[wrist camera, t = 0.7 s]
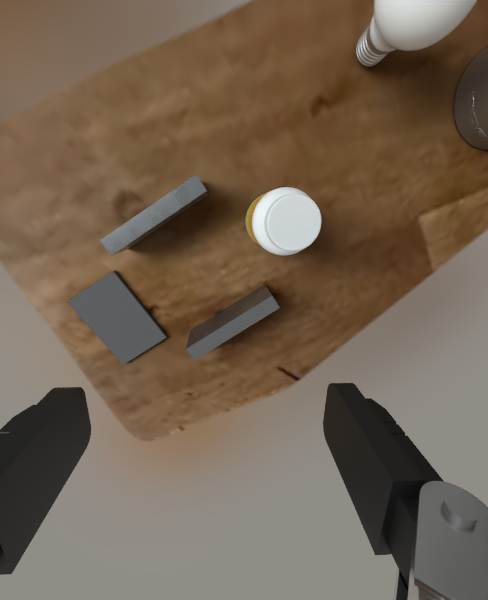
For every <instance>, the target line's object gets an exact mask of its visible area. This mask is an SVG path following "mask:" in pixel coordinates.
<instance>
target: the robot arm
mask: <svg viewBox="0 0 488 600" xmlns="http://www.w3.org/2000/svg"><path fill="white" fill-rule="evenodd" d="M454 115H455V120H456V125H457V127H458V129H459V132H460V134H461V135H462V136H463V138H464V139H465V140H466V141H467V142H468V143H469V144H471V145H472V146H474V147H477V148H479V149H486V150H488V47H487V48H485V49H484V50H482V51H481V52H480V53H479V54H478V55H477V56H476V57H475V58H474V59H473V60H472V61H471V63H470V64H469V65H468V67H467V68H466V70H465V72H464V73H463V75H462V77H461V79H460V82H459V85H458V88H457V91H456V96H455V102H454ZM323 428H324V435H325V439H326V441H327V444H328V446H329V449H330V451H331V453H332V456H333V458H334V460H335V462H336V465H337V467H338V469H339V472H340V474H341V476H342V479H343V481H344V483H345V486H346V488H347V490H348V492H349V495H350V497H351V500H352V502H353V504H354V506H355V509H356V511H357V514H358V516H359V518H360V521H361V523H362V525H363V528H364V530H365V532H366V534H367V537H368V539H369V541H370V544H371V546H372V548H373V551H374V553H375V555H387V554H392V556H393V558H394V560H395V562H396V564H397V566H398V570H397V575H396V582H395V591H394V600H488V507H487V506H486V505H485V504H484V503H483V502H481V501H480V500H479V499H478V498H477V497H475V496H474V495H472V494H471V493H469V492H468V491H466V490H464V489H462V488H460V487H458V486H456V485H453V484H451V483H447V482H444V481H443V480H442V479H441V477H440V476H439V475H438V474H437V472H436V471H435V470H434V469H433V468H432V466H431V465H430V464H429V462H428V461H427V460H426V459H425V457H424V456H423V455H422V454H421V453H420V451H419V450H418V449H417V448H416V446H415V445H414V444H413V442H412V441H411V440H410V439H409V437H408V436H405V432H404V431H403V430H402V429H401V427H400V426H399V425H397V424H396V421H395V420H394V419H393V418H392V416H391V415H390V414H389V413H388V411H387V410H386V409H385V408H383V407H382V406H381V405H379V404H378V403H377V402H375V401H374V400H372V399H365V398H364V396H363V395H362V394H361V393H360V391H359V390H358V388H357V387H356V386H355V384H353V383H331V384H329V386H328V390H327V397H326V404H325V412H324V420H323ZM90 435H91V424H90V419H89V413H88V408H87V402H86V397H85V392H84V390H83V389H82V388H81V387H74V388H73V387H72V388H71V387H70V388H69V387H68V388H53V389H52V390H51V391H50V392H49V393H48V394H47V395H46V396H45V397H44V398H43V399H42V400H41V401H40V402H39V403H38V404H37V405H32V406H31V407H29V408H27V409H26V410H24V411H23V412H21V413H20V414H18V415H16V416H14V417H13V418H12V419H11V420H10V421H9V422H8V423H7V424H6V425H5V426H4V427H3V428H2V429H1V430H0V574H12V572H13V570H14V569H15V567H16V565H17V564H18V562H19V560H20V559H21V557H22V555H23V554H24V552H25V550H26V548H27V547H28V545H29V543H30V542H31V540H32V539H33V537H34V535H35V534H36V532H37V530H38V528H39V527H40V525H41V523H42V522H43V520H44V518H45V517H46V515H47V513H48V512H49V510H50V508H51V507H52V505H53V503H54V502H55V500H56V498H57V496H58V495H59V493H60V491H61V490H62V488H63V486H64V485H65V483H66V481H67V480H68V478H69V476H70V475H71V473H72V471H73V470H74V468H75V466H76V465H77V463H78V461H79V460H80V458H81V456H82V455H83V453H84V451H85V450H86V448H87V445H88V443H89V439H90Z"/></svg>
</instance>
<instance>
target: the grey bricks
mask: <svg viewBox="0 0 488 600" xmlns="http://www.w3.org/2000/svg"><path fill="white" fill-rule="evenodd" d="M208 195H209V194H208V192H207V190H206V189H205V187H204V185H203V184H202V182H201V181H200V179H199V177H198V176H197V174H196V175H195V176H193V177H192V178H190V179H189V180H188V181H186V182H185V183H183V184H182V185H180V186H179V187H177V188H176V189H174V190H173V191H172V192H170V193H169V194H167V195H166V196H164V197H163V198H161V199H160V200H158V201H157V202H155V203H154V204H153V205H151V206H150V207H148V208H147V209H145V210H144V211H142V212H141V213H139V214H138V215H137V216H135V217H134V218H132V219H131V220H129V221H128V222H126V223H125V224H123V225H122V226H120V227H119V228H118V229H116V230H115V231H113V232H112V233H110V234H109V235H107V236H106V237H104V238H103V239H102V240H100V241H101V242H102V244H103V245H104V246H105V248H106V249H107V250H108V251H109V253H110V254H111V255H114V254H117V253H119V252H122V251H125V250H127V249H129V248H131V247H132V246H133V245H135V244H136V243H138V242H139V241H141V240H142V239H144V238H145V237H147V236H148V235H150V234H151V233H153V232H154V231H156V230H157V229H159V228H160V227H162V226H163V225H165V224H166V223H168V222H169V221H171V220H172V219H173V218H175V217H176V216H178V215H179V214H181V213H182V212H184V211H185V210H187V209H188V208H190V207H191V206H193V205H194V204H196V203H197V202H199V201H200V200H202V199H203V198H205V197H206V196H208ZM279 308H280V307H279V306H278V304H277V302H276V301H275V299H274V298H273V296H272V295H271V293H270V291H269V290H268V288H267V287H266V285H263V286H261V287H260V288H258V289H257V290H255V291H253V292H252V293H250V294H249V295H247V296H246V297H244V298H242V299H241V300H239V301H238V302H236V303H234V304H233V305H231V306H230V307H228V308H226V309H225V310H223V311H222V312H220V313H218V314H217V315H215V316H214V317H212V318H210V319H209V320H207V321H206V322H204V323H203V324H201V325H199V326H198V327H196V328H195V329H193V330H191V331H190V335H189V339H188V343H187V347H186V350H187V351H188V352H189V354H190V355H191V356H192V357H193V359H194V360H196V359H198V358H199V357H201V356H203V355H204V354H206V353H207V352H209V351H211V350H212V349H214V348H216V347H217V346H219V345H220V344H222V343H224V342H225V341H227V340H228V339H230V338H232V337H233V336H235V335H237V334H238V333H240V332H241V331H243V330H245V329H246V328H248V327H250V326H251V325H253V324H254V323H256V322H258V321H259V320H261V319H263V318H264V317H266V316H267V315H269V314H271V313H272V312H274V311H276V310H277V309H279Z"/></svg>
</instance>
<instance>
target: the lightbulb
mask: <svg viewBox="0 0 488 600" xmlns="http://www.w3.org/2000/svg"><path fill="white" fill-rule="evenodd" d="M476 2H477V0H374V15H373V17H372V20H371V24H370V25H369V26H368V27H367V29H366V30H365V31H364V33H363V34H362V35H361V36H360V38H359V40H358V42H357V46H356V54H357V57H358V59H359V61H360V62H361V63H362V64H363V65H365V66H374V65H376V64H377V63H379V62H380V61H381V60H382V59H383V58H384V57H385V56H386V55H387V54H388V53H389V52H392V51H394V50H397V49H398V50H402V51H415V50H420V49H423V48H426V47H429V46H431V45H433V44H435V43H437V42H438V41H440V40H442V39H443V38H444V37H446V36H447V35H448V34H450V33H451V32H452V31H453V30H454V29H455V28H456V27H457V26H458V25H459V24H460V23H461V22H462V21H463V20H464V19H465V17H466V16H467V15H468V14H469V12H470V11H471V10H472V8H473V7H474V5H475V4H476Z"/></svg>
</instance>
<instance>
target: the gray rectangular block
mask: <svg viewBox="0 0 488 600" xmlns="http://www.w3.org/2000/svg"><path fill="white" fill-rule="evenodd" d="M67 303H68V304H69V305H70V306H71V307H72V308H73V309H74V310H75V311H76V313H77V314H78V315H79V316H80V317H81V318H82V319H83V320H84V321H85V323H86V324H87V325H88V326H89V327H90V328H91V329H92V330H93V331H94V333H95V334H96V335H97V336H98V337H99V338H100V339H101V340H102V341H103V343H104V344H105V345H106V346H107V347H108V348H109V349H110V350H111V351H112V353H113V354H114V355H115V356H116V357H117V358H118V359H119V360H120V361H121V363H122V364H123V365H124V364H125V363H127V362H128V361H130V360H132V359H133V358H135V357H136V356H138V355H140V354H141V353H143V352H144V351H146V350H148V349H149V348H151V347H152V346H154V345H155V344H157V343H159V342H160V341H162V340H163V339H165V338H166V337H167V335H166V334H165V332H164V331H163V330H162V329H161V327H160V326H159V325H158V324H157V322H156V321H155V320H154V319H153V317H152V316H151V315H150V314H149V312H148V311H147V310H146V309H145V307H144V306H143V305H142V304H141V302H140V301H139V300H138V299H137V297H136V296H135V295H134V294H133V292H132V291H131V290H130V289H129V287H128V286H127V285H126V284H125V282H124V281H123V280H122V279H121V278H120V276H119V275H118V274H117V273H116V271H113V272H111V273H110V274H108V275H107V276H105V277H104V278H102V279H101V280H99V281H98V282H96V283H95V284H93V285H92V286H90V287H89V288H87V289H86V290H84V291H83V292H81V293H80V294H79V295H77V296H76V297H74V298H73V299H71V300H70V301H68V302H67Z"/></svg>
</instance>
